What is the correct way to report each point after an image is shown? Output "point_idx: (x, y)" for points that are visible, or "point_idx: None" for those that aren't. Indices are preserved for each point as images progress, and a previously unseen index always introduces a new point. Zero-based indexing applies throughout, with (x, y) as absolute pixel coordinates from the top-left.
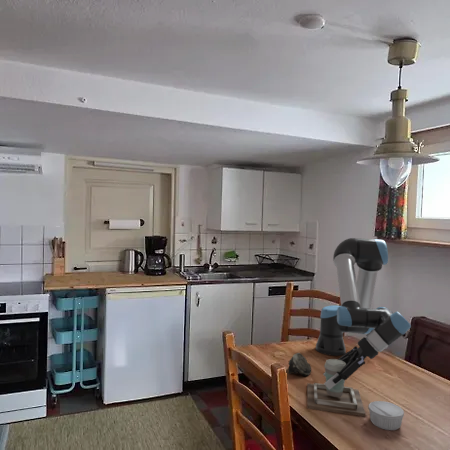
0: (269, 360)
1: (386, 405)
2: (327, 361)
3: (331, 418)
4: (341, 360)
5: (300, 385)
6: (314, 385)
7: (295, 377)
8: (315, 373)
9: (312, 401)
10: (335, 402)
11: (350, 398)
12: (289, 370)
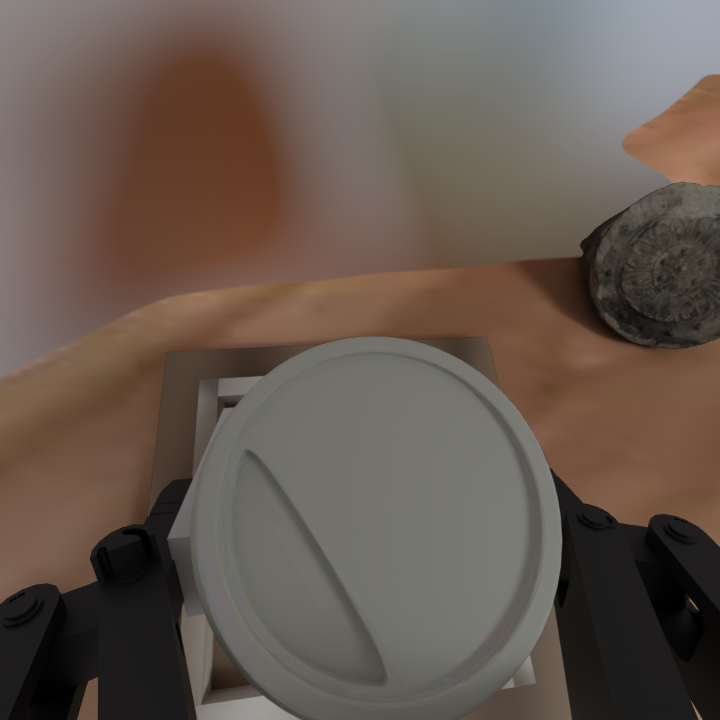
0: (682, 161)
1: None
2: (393, 359)
3: (58, 506)
4: (593, 605)
5: (463, 309)
6: None
7: (555, 279)
8: (691, 380)
9: (233, 376)
10: None
11: None
12: (590, 234)
